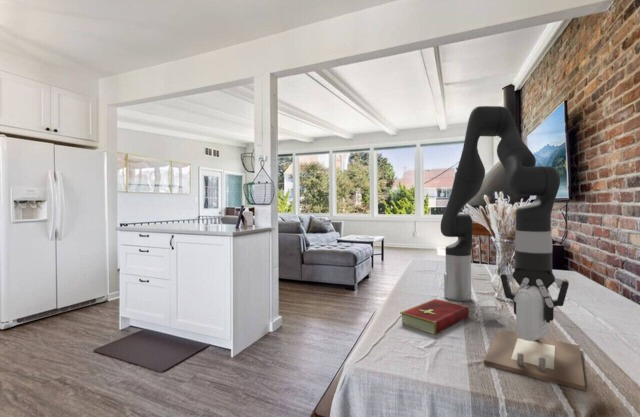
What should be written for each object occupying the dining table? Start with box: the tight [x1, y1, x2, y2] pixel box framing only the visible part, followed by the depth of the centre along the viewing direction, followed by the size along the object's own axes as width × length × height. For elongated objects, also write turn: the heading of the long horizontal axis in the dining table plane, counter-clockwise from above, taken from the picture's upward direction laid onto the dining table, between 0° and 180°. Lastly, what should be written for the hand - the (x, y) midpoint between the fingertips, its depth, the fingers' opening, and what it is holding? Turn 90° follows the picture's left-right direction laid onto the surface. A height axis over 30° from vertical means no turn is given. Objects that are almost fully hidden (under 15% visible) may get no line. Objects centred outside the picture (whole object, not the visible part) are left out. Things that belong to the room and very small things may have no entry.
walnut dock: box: [483, 329, 586, 391], centre depth 77 cm, size 18×22×4 cm
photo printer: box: [515, 285, 551, 341], centre depth 77 cm, size 10×4×12 cm, turn 124°
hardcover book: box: [399, 298, 470, 336], centre depth 102 cm, size 12×21×4 cm, turn 130°
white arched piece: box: [472, 299, 503, 324], centre depth 103 cm, size 12×8×5 cm
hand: (533, 318), depth 77 cm, fingers closed on photo printer, 5 cm apart
